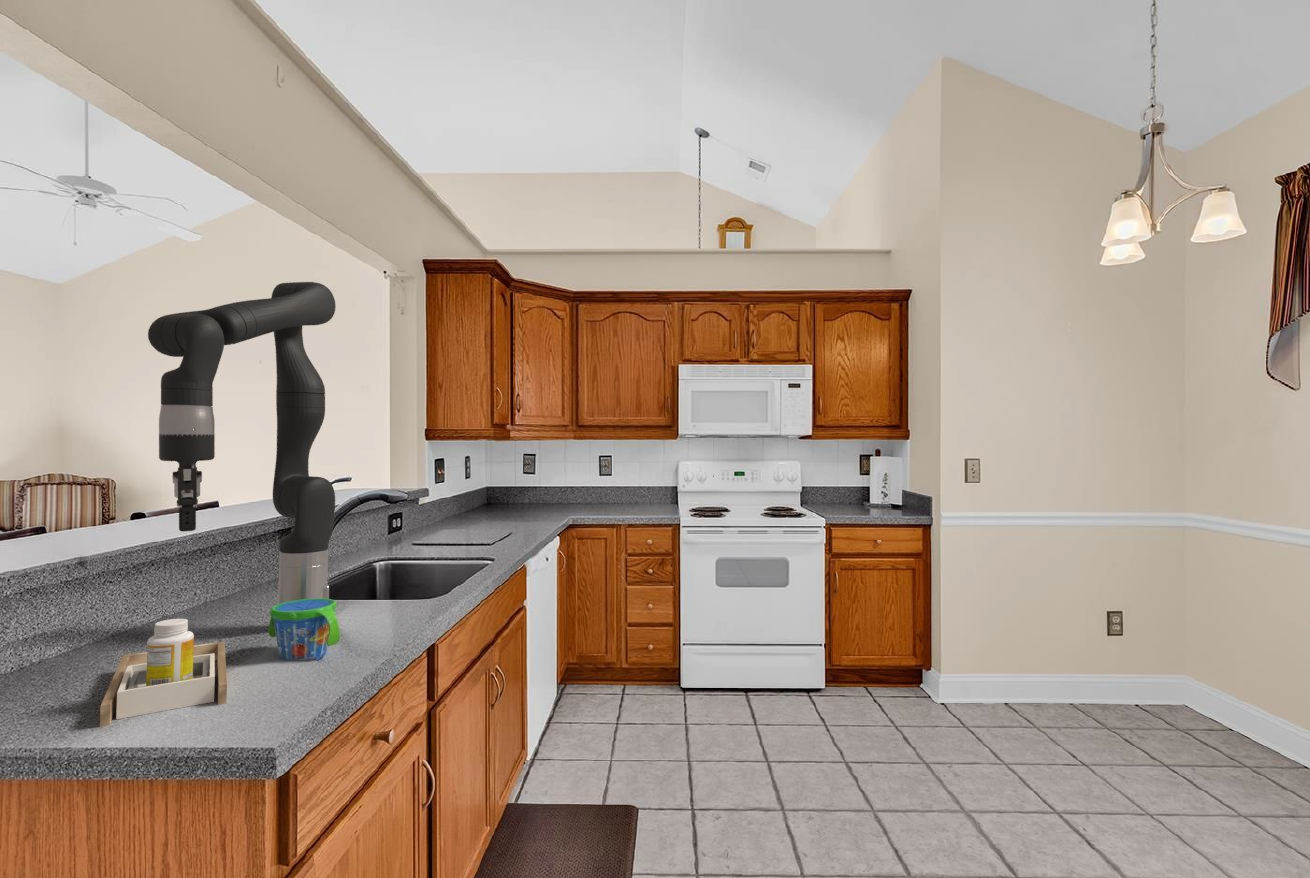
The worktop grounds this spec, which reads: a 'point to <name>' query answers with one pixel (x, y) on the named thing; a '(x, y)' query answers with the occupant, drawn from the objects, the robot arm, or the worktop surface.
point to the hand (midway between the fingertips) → (187, 527)
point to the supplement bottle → (170, 652)
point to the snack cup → (304, 628)
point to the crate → (165, 689)
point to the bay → (140, 658)
